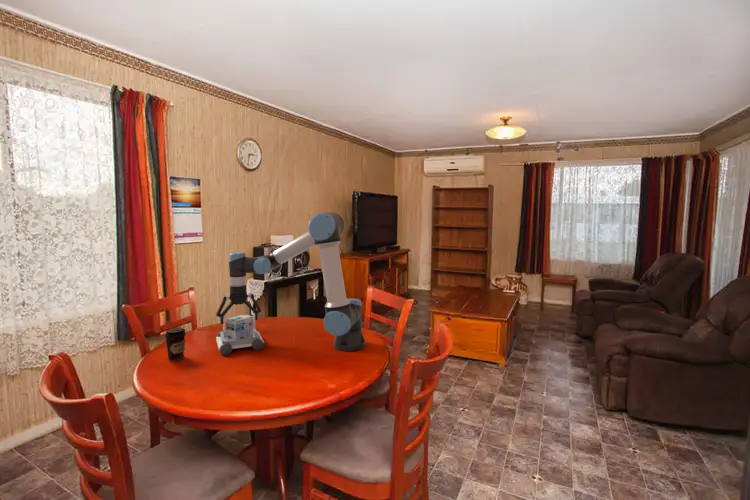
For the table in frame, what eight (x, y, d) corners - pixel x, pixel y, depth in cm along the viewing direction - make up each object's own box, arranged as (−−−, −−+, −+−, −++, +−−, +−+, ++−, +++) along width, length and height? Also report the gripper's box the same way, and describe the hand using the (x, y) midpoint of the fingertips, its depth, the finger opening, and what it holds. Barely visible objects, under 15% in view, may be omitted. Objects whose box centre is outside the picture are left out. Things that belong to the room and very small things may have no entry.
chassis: (264, 349, 182) (264, 338, 182) (219, 356, 174) (218, 344, 173) (257, 336, 201) (257, 325, 201) (216, 341, 193) (215, 330, 192)
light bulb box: (235, 343, 181) (235, 321, 180) (226, 341, 185) (225, 318, 184) (254, 337, 190) (253, 315, 189) (244, 335, 194) (244, 313, 193)
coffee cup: (191, 357, 173) (190, 328, 171) (175, 363, 165) (173, 334, 164) (178, 354, 176) (176, 326, 175) (161, 360, 169) (159, 331, 167)
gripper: (263, 281, 193) (264, 323, 195) (209, 285, 183) (210, 329, 185) (266, 284, 187) (267, 327, 189) (210, 288, 176) (211, 334, 178)
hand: (239, 328), depth 187 cm, fingers open, 13 cm apart
